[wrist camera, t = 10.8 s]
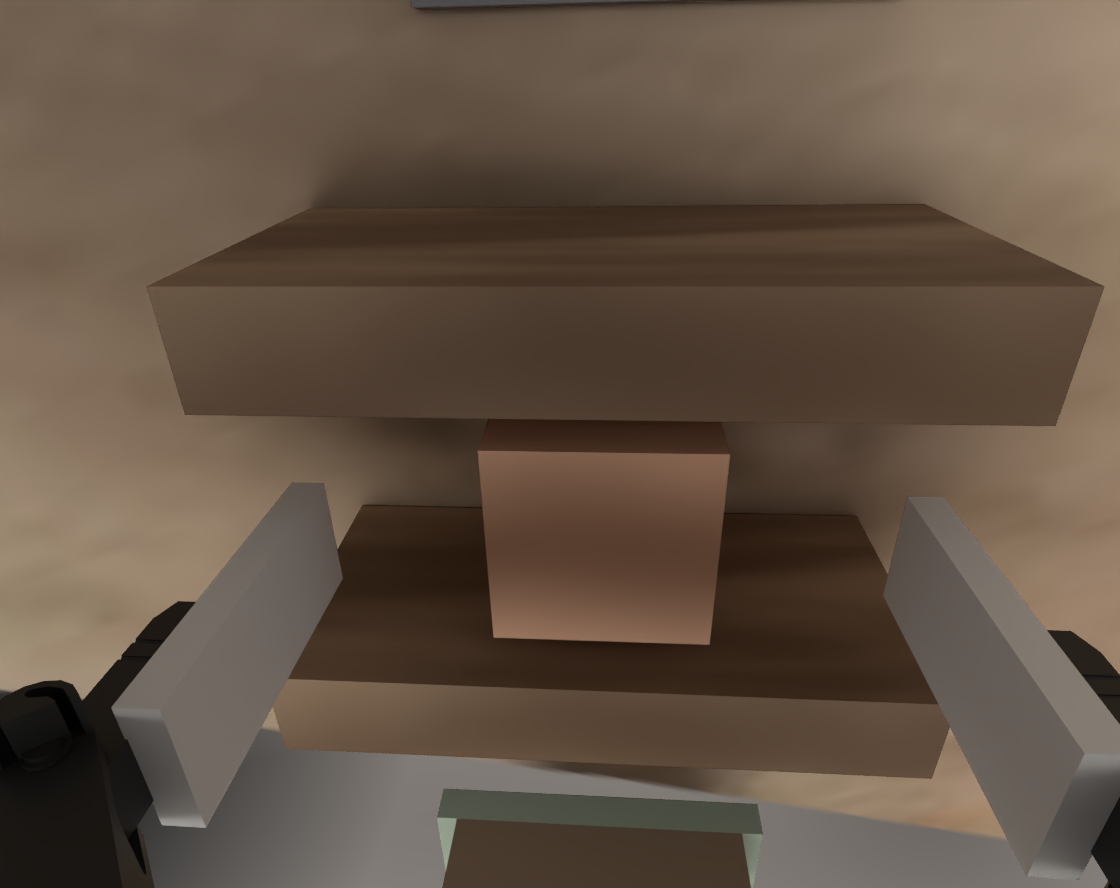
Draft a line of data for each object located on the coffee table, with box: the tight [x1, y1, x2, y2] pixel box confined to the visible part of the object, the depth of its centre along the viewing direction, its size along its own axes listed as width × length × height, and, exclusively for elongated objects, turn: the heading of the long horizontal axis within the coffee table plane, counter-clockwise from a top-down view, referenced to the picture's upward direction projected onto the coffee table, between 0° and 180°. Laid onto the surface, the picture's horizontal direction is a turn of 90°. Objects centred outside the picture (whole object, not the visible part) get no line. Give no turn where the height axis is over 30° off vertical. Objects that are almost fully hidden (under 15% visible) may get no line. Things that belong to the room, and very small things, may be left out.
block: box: [478, 419, 730, 645], centre depth 18 cm, size 5×5×7 cm
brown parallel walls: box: [147, 204, 1104, 779], centre depth 18 cm, size 12×16×8 cm
